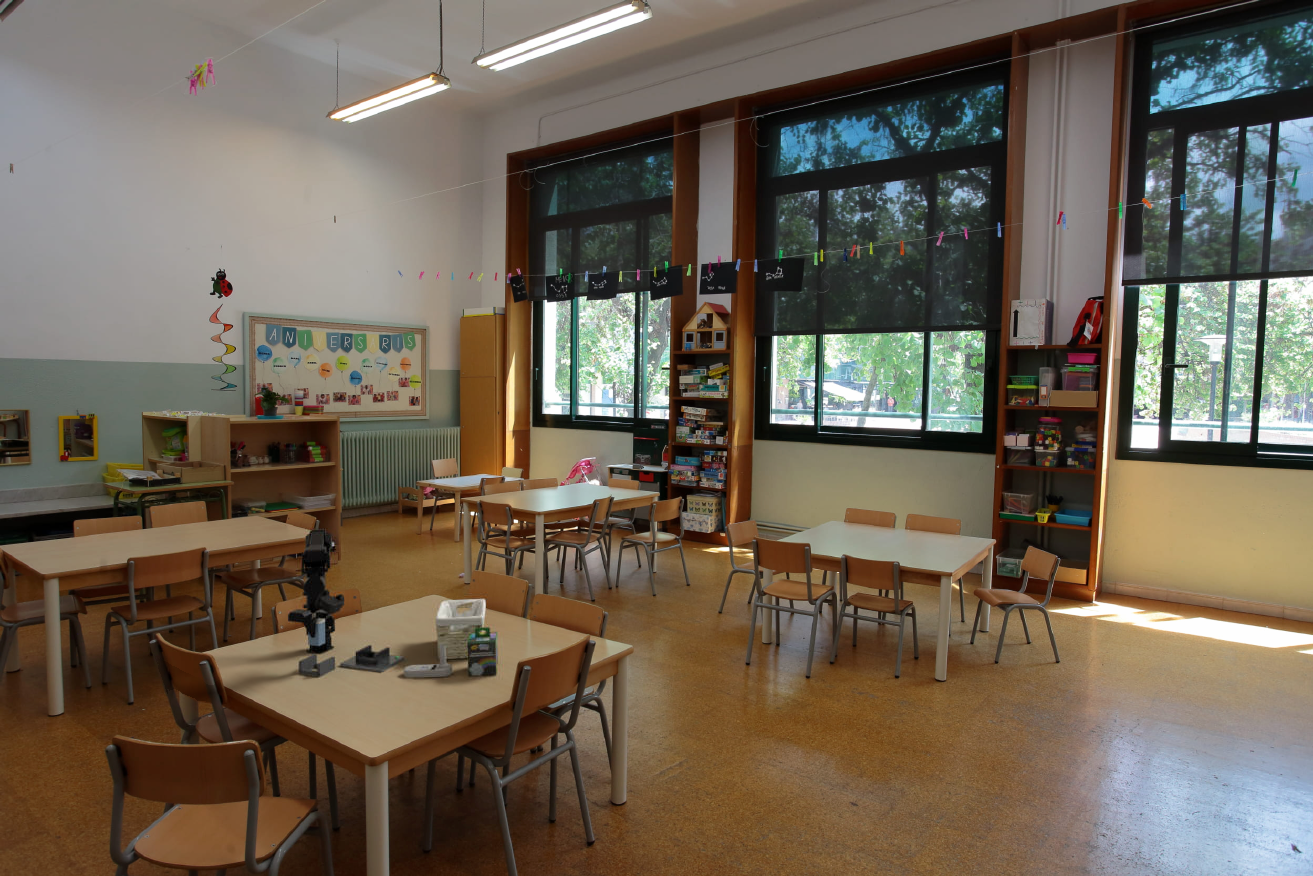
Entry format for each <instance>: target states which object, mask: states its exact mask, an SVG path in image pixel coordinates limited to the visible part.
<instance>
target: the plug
mask: <svg viewBox="0 0 1313 876" xmlns="http://www.w3.org/2000/svg"><path fill="white" fill-rule="evenodd" d="M307 640H308V641H307V645H308V646H310V645H314V646H320V645H322V644H324V643H325V619H323V618H319V619H318V620H317V621H316V629H315V637H314V638H311V636H310V635H309V633H308V635H307Z"/></svg>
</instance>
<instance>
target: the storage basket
mask: <svg viewBox="0 0 1313 876" xmlns="http://www.w3.org/2000/svg"><path fill="white" fill-rule="evenodd" d="M486 605H487V603H486V599H485V598H477V599H475V598H472V599H454V600H453V599H451V600H449V599H447V600H444V601H441V603H440V604H439V606H438V610H437V612H436V614H435V615H436V616H435V626H436V628H435V629H436V636H437V637H436V638H437V639H436V643H437V647H436V648H437V658H438V659H439V660H440V645H441V644H445V649H446V660H450V659H454V660H455V659H462V660H463V659H466V658H467V659H468V650H467V642H468V639H469V634H471V633H475V628H481V627H485V626H484V625H485V617H486V607H487V606H486ZM458 609H468V610H466V611H463V612H460V613H459V612H458ZM483 632H485V631H484V630H481V631H480V632H479V633H483Z"/></svg>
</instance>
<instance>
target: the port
mask: <svg viewBox="0 0 1313 876" xmlns="http://www.w3.org/2000/svg"><path fill="white" fill-rule="evenodd" d="M372 647H373V646H372V645H371V644H369V645H367V646H364V647H362V648H360V649H358V650H356V651H355V655H354V656H352V657H350V658H348V659H346V660H344V661H342V662H340V663H339V666H340V667H342V668H349V669H350V668H351V669H358V670H364V671H365V670H366V671H372V672H379V673H384V672H385V671H387V670H388V669H390V668H392V667H394V666H396V665H397V664H399V663H401V662H402V661H405V656H402V655H401V656H400V655H394V654H390V647H387V646H386V647H385V648H382V649H381V650H379V651H372V650H373V648H372Z"/></svg>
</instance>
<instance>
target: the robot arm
mask: <svg viewBox="0 0 1313 876" xmlns="http://www.w3.org/2000/svg"><path fill="white" fill-rule="evenodd" d="M332 537H333V536H332V534H330V533H329V532H327V530H326V529H324V528H319V529H318V528H317V529H311V530H309V533H308V534H306V535H305V541H304V542H305V548H304V552H302V554H301V574H302V575H303V574H304V575H305V580H304V585H303V590H304V591H303V592H302V595H303V596H304V597H305V599H306V600H305V602H306V603H305V604H302V606H303V607H302V608H303V609H301V608H297V609H295V610H292V611H289V613H288V614H287V621H288V622H294V623H302V624H303V626H304V628H305V632H306V633H305V634H306V636H308V633H309V635H310V636H311V638H314V637H315V629H316V621H317V620H318V619H319V618H323V619H325V643H324V644H322V645H320V646H314V645H309V648H307V649H306V652H309V653H314V654H315V653H316V654H323V653H325V652H326V653H327V651H330V650H332V649H334V648H335V646H333V644H332V636H331V634H333V633H334V632H336V626H335V625H336V622H335V621H336V619H335V618H334V617H333V614H335V613H339V612H340V610H341V608H343V607H344V606H345V596H344V594H342V593H340V594H338V595H333V596H331V595H330V591H329V589H326V584H327V583H326V573H329V570H330V569H331V550H332V549H333V538H332Z"/></svg>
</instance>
